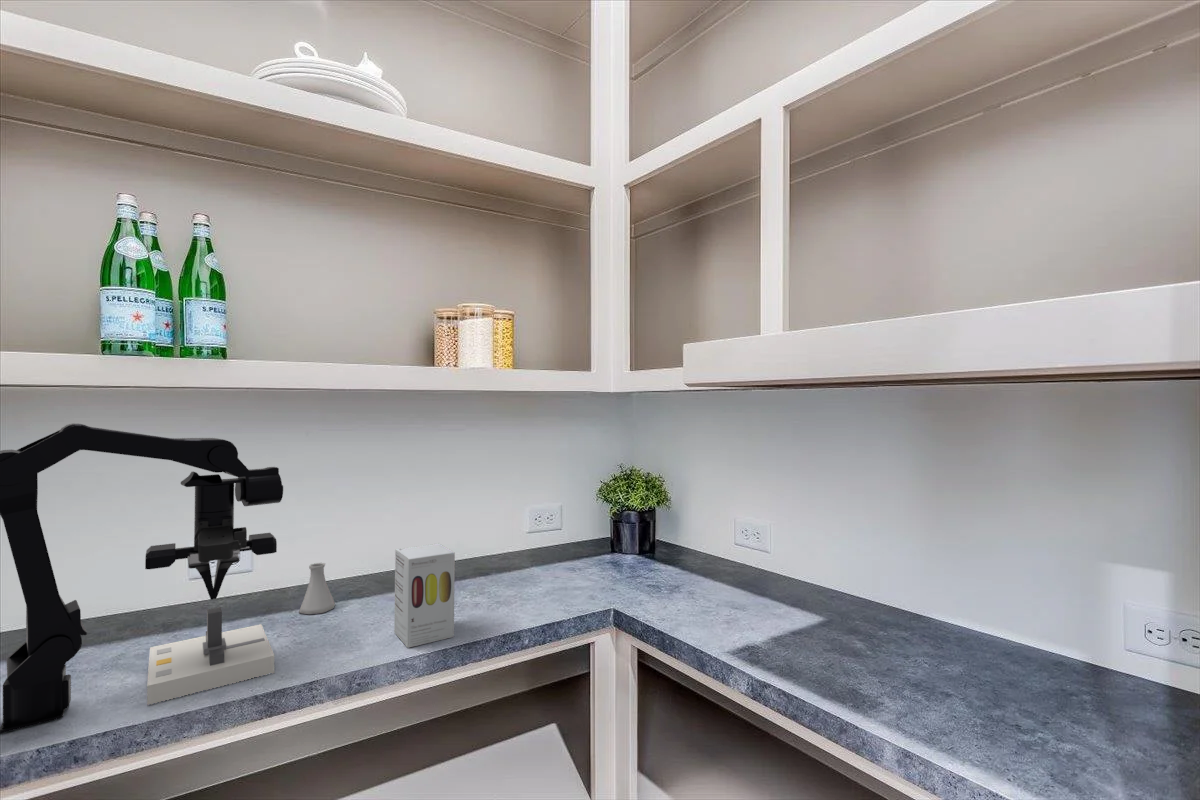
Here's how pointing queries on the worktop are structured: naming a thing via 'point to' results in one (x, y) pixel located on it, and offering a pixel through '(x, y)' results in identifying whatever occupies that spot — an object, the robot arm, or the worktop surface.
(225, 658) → the panel
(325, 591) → the flask
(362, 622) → the worktop surface
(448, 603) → the supplement box
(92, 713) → the worktop surface
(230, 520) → the robot arm
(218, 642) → the handle
